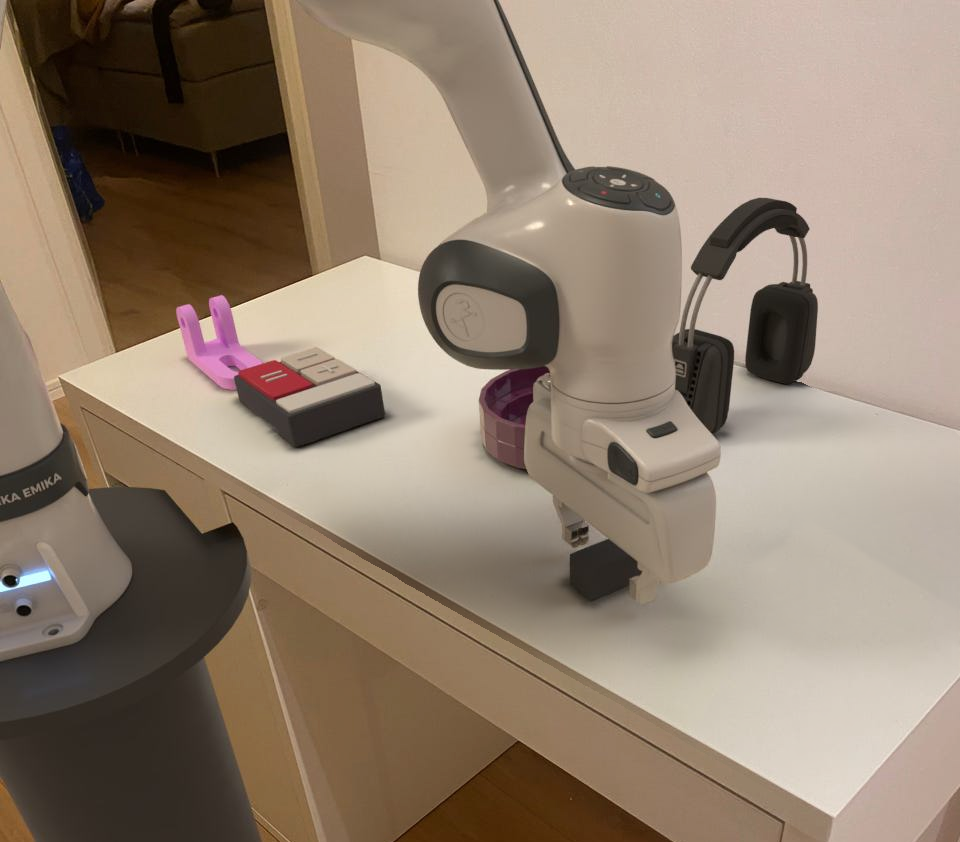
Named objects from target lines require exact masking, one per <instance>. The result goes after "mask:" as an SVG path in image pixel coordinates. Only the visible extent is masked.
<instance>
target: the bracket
mask: <svg viewBox="0 0 960 842" xmlns="http://www.w3.org/2000/svg"><path fill="white" fill-rule="evenodd" d="M208 306H209V311H210V315H211V319H212V324H213V327H214V333H215V336H216V338H215V339H212V340H208V341H205V339H204V336H203V332H202V328H201V323H200V320H199V317H198V314H197V313H196V311H195V309H194V307H193V306H192V305H191V303H188V304H184V305H181V306H177V307H176V308H175V309H176V310H175V311H176V312H175V313H176V319H177V322H178V325H179V330H180V334H181V337H182V341H183V344H184V345H183V346H184V350H185V352H186V356H187V360H189V361H190V362H191V363H192V364H194V366H196V367H197V368H198V369H199V370H200V371H201V372H203V373H204V374H205V375H206V376H208V377H209V378H210V379H211V380H212V381H213V382H214V383H215V384H216V385H218V386H219V387H220V388H222V389H224V390H228V391H229V390H231V391H237V389H236V385H235V381H234V376H236V375H239V374H238V371H234V370H232V369H231V368H230V367H236V368H237V369H238V370H239V371H240V370H243V369H247V368H250V367H253V366H256V365H260V364H263V362H262V360H260V359H259V358H257V357H256V356H254V355H253V354H252V353H251V352H249V350H246V349H245V348H244V347H243V346H242V345H241V344H240V342H239V338H238V333H237V329H236V324H235V320H234V316H233V312H232V309H231V306H230V303H229V302H228V300H227V298H226V296H224V295H222V294H221V295H217V296H214V297H210V298H209V299H208Z"/></svg>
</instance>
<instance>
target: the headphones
mask: <svg viewBox="0 0 960 842" xmlns="http://www.w3.org/2000/svg"><path fill="white" fill-rule="evenodd" d="M797 210H798V207H797V206H795V205H794V204H793V203H790V202H789V201H786V200H780V199H776V198H770V197H756V198H753V199H749V200H747V201H746V202H744V203H742V204H740V205H739V206H737V207H736V208H735V209H734V210H733V211H731V213H729V215H727V216H726V217H725V218H724V219H723V220H722V221H721V222H720V223H719V225H717V226H716V227H715V229H713V231H712V232H711V234H709V236H708V237H707V239H706V240H705V241H704V243H703V244H702V246H701V248H700V249H699V251H698V252H697V254H696V256H695V258H694V260H693V262H692V264H691V265H690V270H691V271H692V272H693V273H694V274H695V275H696V277H695V279H694V282H693V284H692V286H691V288H690V291H689V293H688V295H687V299H686V302H685V305H684V308H683V312H682V316H681V320H680V326H679V332H677V333H675V334H674V336H673V341H672V353H673V358H674V361H675V366H676V382H675V390H678V391H679V392H680V393H681V395H682V396H683V398H684V399H685V401H686V403H687V404H688V406H689V407H690V409H691V410H692V411H693V413H694V414H695V415H696V417H697V418H698V419H699V420H700V421H701V423H702V424H703V425H704V426H705V427H706V428H707V429H708V430H709V431H710V433H711V434H712V435H714V434H716V433H718V432H719V431H720V430H721V428H723V426H724V425H725V424H726V423H727V419H728V416H729V411H730V402H731V392H732V384H733V374H734V364H735V347H734V344H733V342H732V341H731V340H730V339H728V338H726V337H724V336H722V335H718V334H714V333H710V332H708V331H703V330H701V329H700V330H699V329H696V324H697V319H698V315H699V311H700V308H701V306H702V303H703V300H704V297H705V294H706V292H707V290H708V288H709V286H710V284H711V282H712V280H716V281H723V280H724V279H725V277H726V275H727V273H728V272H729V270H730V268H731V266H732V265H733V263H734V261H735V260H736V257H737V254H738V253H740V252H742V251H743V250H744V249H745V248H746V247H747V246H748V245H750V243H752V241H754V240H755V239H756V238H757V237H759V236H760V235H761V234H763V233H765V232H766V231H769V230H773V229H774V230H775V232H776V233H777V234H779V235H784V236H788V237H789V240H790V242H791V243H790V244H791V246H792V252H793V266H792V267H793V269H792V277H791V278H792V279H791V281H789V282H786V281H781V282H779V283H771V284H767V285H764V286H763V287H762V288H760V289H758V290H756V292H755V293H754V295H753V298H752V300H751V305H750V313H749V321H748V330H747V339H746V348H745V349H746V350H745V359H744V363H745V368H746V370H747V372H748V373H750V374H751V375H754V376H756V377H759V378H762V379H766V380H769V381H772V382H776V383H779V384H786V385H787V384H791V383H794V382H797V381H798V380H800V379H801V378H803V376H804V374H805V373H806V372H807V371H808V370H809V369H810V367H811V365H812V363H813V360H814V356H815V351H816V341H817V328H818V327H817V326H818V325H817V324H818V313H819V302H818V298H817V295H816V294H815V293H814V289H813V288H811V284H810V283H808V282H806V281H807V274H808V250H807V249H808V248H807V244H806V240H805V238H806V236H807V235H808V234H809V231H810V230H811V229H810V227H809V224H808V223H807V221H806V219H805V218H804V217H803V216H802V215H801V214H800V213H798V212H797ZM797 238H798V241H799V244H800V248H801V249H800V250H801V255H802V256H801V257H802V265H801V266H802V268H801V279H800V280H798V274H799V261H800V260H799V247H798V242H797ZM703 277H705V281H704V282H703V284H702V287H701V289H700V291H699V293H698V295H697V298H696V302H695V305H694V308H693V310H692V314H691V318H690V323H689V328H686V327H687V321H688V316H689V311H690V308H691V306H692V303H693V299H694V297H695V294H696V292H697V289H698V287H699V285H700V284H701V281H702V279H703Z"/></svg>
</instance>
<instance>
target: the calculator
mask: <svg viewBox="0 0 960 842" xmlns="http://www.w3.org/2000/svg"><path fill="white" fill-rule="evenodd" d="M262 363H263V362H262ZM237 372H238V374H239V375H236V376H234V381H235V385H236V389H237V390H236V393H237V396H238V400H239V402H240V403H242V404H243V405H244V406H246V407H247V408H249V409H250V411H252V412H253V413H255V414H256V415H258V416H259V417H260V418H262V419H263V420H264V421H265V422H267V423H268V424H269V425H270V426H272V427H273V428H275V429H276V431H277V433H278V434H279V436H280V437H281V438H282V439H284V440H285V441H286V442H287V443H289V444H290V445H291V446H293V447H295V448H298V447H301V446H305V445H308V444H311V443H314V442H315V441H318V440H321V439H325V438H327V437H330V436H333V435H336V434H338V433H342V432H344V431H347V430H350V429H353V428H356V427H358V426H361V425H364V424H367V423H370V422H373V421H376V420H378V419H381V418H384V417H385V416H386V411H385V404H384V397H383V391H382V386H381V384H380V383H378V382H376V381H375V380H373V379H371V378H370V377H368V376H366V375H365V374H363V373H361V372H359V371H358V370H356V368H354V367H352V365H349V364H348V363H346V362H345V361H342V360H340V359H339V358H335V356H334V355H332V354H330V353H328V352H326V351H325V350H323V349H321V348H320V347H317V346H315V347H311V348H309V349H305V350H302V351H298V352H295V353H293V354H289V355H286V356H282V357H281V358H280V361H278V360H276V359H273V360H269V361H266V362H264V363H263V364H260V365H256V366H253V367H250V368H247V369H243V370H240V369H239V370H237Z"/></svg>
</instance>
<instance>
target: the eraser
mask: <svg viewBox="0 0 960 842" xmlns="http://www.w3.org/2000/svg"><path fill="white" fill-rule="evenodd" d="M637 564H638V562H637V561H636V560H635V559H634V558H632V557H631V556H630V555H628V554H627V553H626V552H625V551H623V550H622V549H621V548H620V547H618V546H617V545H616V544H614V543H613V542H612V541H611V540H609V539H608V538H607V539H604V540H602V541H600V542H596V543H594V544H591V545H589V546H586V547H584V548H581V549H578V550H575V551H573V552H571V553H569V584H570V585H571V586H572V587H573V588H574V589H575V590H576V591H578V592H579V593H580V594H581V595H582V596H583V597H585V598H586V600H588V601H589V602H592V601H595V600H597V599H599V598H601V597H604V596H607V595H609V594H611V593H614V592H616V591H618V590H622V589H623V588H626V587H629V579H630V578H632V577H634V576H640V574H641V573H642V571H640V570H639V569H638V567H637Z"/></svg>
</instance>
